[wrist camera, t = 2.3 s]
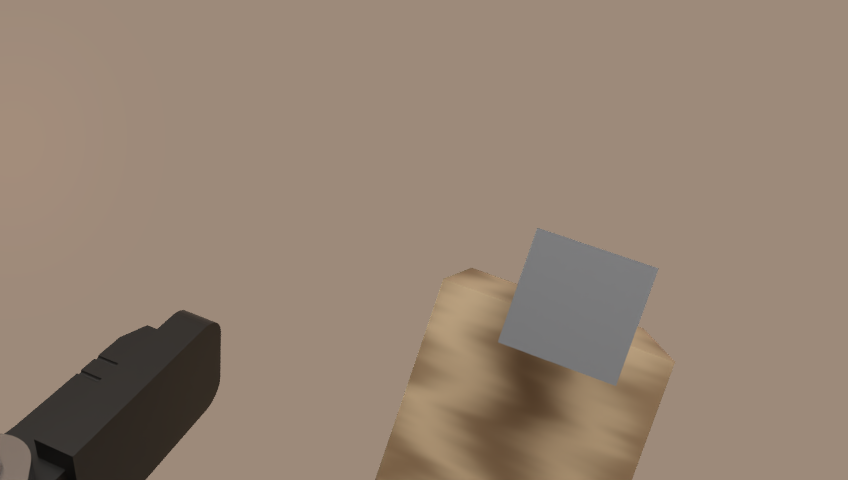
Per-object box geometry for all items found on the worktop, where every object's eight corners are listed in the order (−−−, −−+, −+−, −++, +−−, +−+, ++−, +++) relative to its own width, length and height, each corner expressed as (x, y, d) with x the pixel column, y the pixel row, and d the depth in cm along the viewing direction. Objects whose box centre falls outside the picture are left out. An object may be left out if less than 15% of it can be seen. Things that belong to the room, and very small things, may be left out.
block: (497, 342, 22) (537, 228, 22) (530, 281, 52) (547, 232, 52) (616, 386, 22) (658, 268, 21) (581, 299, 51) (598, 249, 51)
